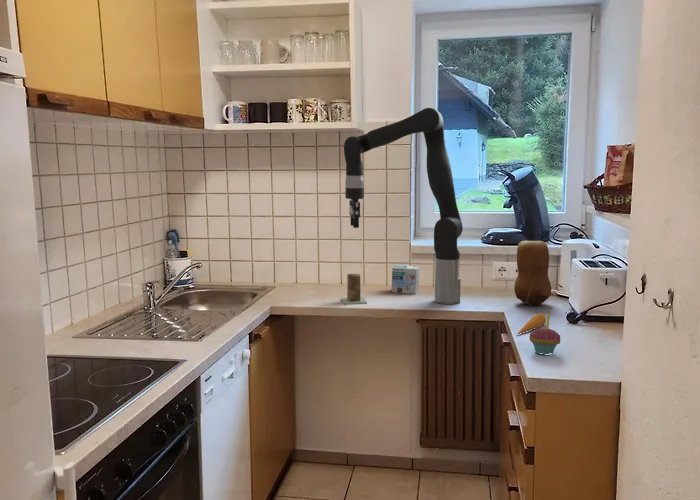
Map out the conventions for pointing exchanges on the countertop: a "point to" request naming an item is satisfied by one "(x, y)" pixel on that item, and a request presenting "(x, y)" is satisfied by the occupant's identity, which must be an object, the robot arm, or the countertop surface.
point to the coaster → (362, 301)
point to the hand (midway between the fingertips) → (354, 226)
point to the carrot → (534, 323)
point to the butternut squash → (532, 272)
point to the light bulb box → (405, 279)
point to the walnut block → (353, 287)
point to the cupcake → (545, 339)
